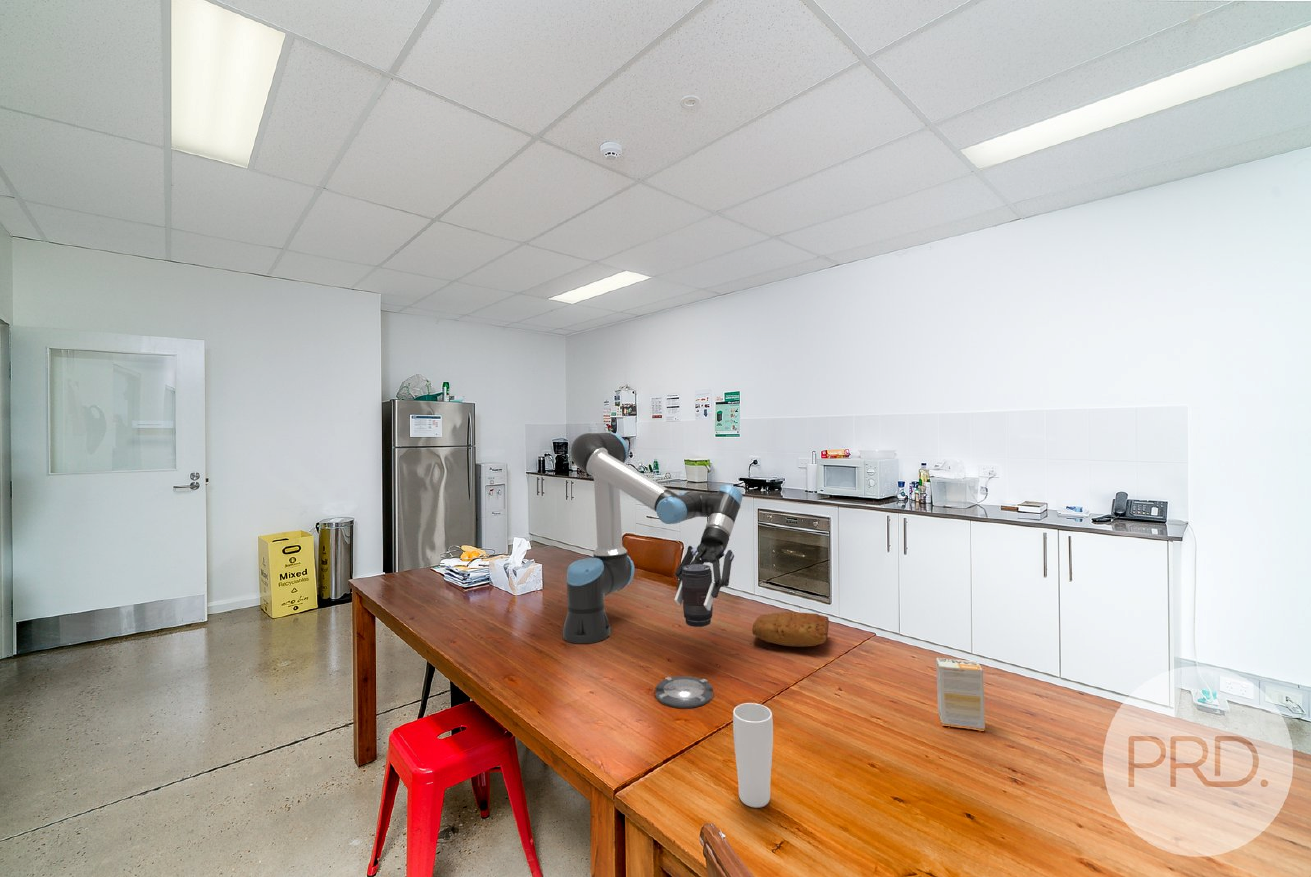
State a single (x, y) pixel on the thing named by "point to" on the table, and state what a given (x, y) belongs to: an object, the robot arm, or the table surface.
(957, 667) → the supplement box
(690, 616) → the camera lens
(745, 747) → the drinking glass
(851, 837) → the table surface
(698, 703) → the mount plate
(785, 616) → the bread loaf
